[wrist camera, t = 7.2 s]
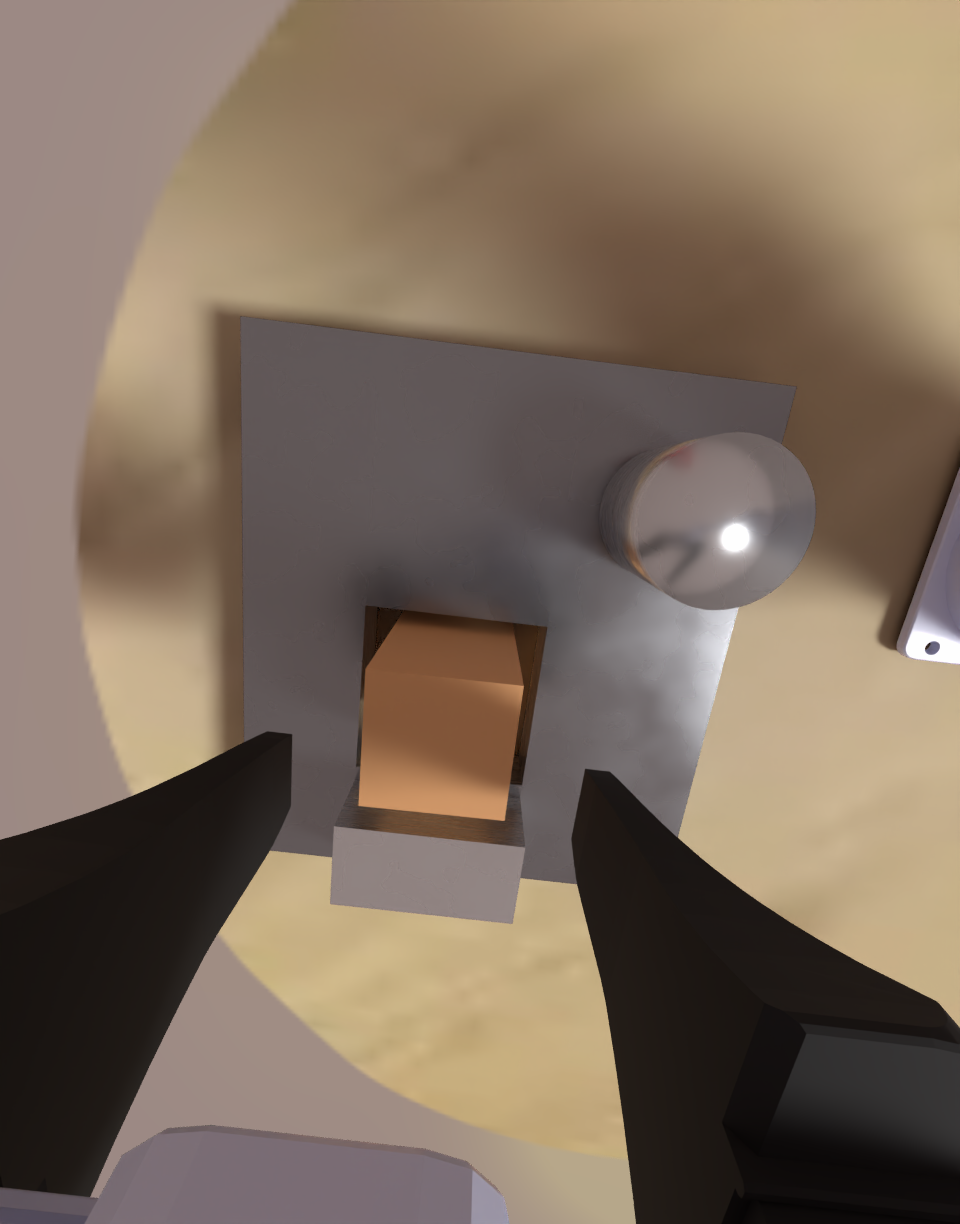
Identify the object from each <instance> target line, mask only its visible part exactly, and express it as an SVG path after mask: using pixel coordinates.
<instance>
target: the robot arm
mask: <svg viewBox="0 0 960 1224" xmlns="http://www.w3.org/2000/svg"><path fill="white" fill-rule="evenodd" d="M928 643H930V646H929V648H928V649H927V650H925V647H926V645H927V644H928ZM896 647H897V650H898V652H899V653H900V654H901V655H903V656H906V657H908V658H911V659H916V660H925V661H933V662H942V663H950V664H959V665H960V468H959V471H958V474H957V476H956V479H955V482H954V485H953V488H952V490H951V493H950V496H949V499H948V501H947V504H946V507H945V510H944V513H943V515H942V518H941V521H940V524H939V527H938V529H937V532H936V535H935V538H934V541H933V543H932V546H931V549H930V552H929V554H928V557H927V560H926V563H925V566H924V568H923V571H922V574H921V577H920V580H919V582H918V585H917V588H916V591H915V594H914V596H913V599H912V602H911V605H910V607H909V610H908V613H907V616H906V619H905V621H904V624H903V627H902V630H901V633H900V635H899V638H898V641H897V646H896ZM291 782H292V734H287V733H278V732H270V731H267V732H265V733H262V734H260V735H258V736H256V737H254V738H252V739H250V740H248V741H246V742H244V743H242V744H240V745H238V746H236V747H234V748H232V749H230V750H228V751H226V752H224V753H222V754H220V755H218V756H216V757H214V758H212V759H211V760H209V761H207V762H205V763H203V764H201V765H199V766H197V767H195V768H193V769H191V770H189V771H186V772H184V773H182V774H180V775H178V776H176V777H173V778H171V779H169V780H167V781H165V782H163V783H161V784H158V785H156V786H154V787H152V788H150V789H148V790H145V791H143V792H140V793H138V794H136V795H133V796H131V797H128V798H126V799H123V800H121V801H118V802H116V803H113V804H110V805H108V806H105V807H102V808H100V809H97V810H95V811H92V812H89V813H86V814H83V815H80V816H77V817H74V818H71V819H67V820H65V821H61V822H58V823H55V824H52V825H49V826H46V827H43V828H39V829H36V830H33V831H30V832H27V833H23V834H20V835H16V836H12V837H9V838H5V839H2V840H0V1224H509V1219H508V1214H507V1210H506V1204H505V1199H504V1197H503V1195H502V1194H501V1193H500V1191H499V1190H498V1189H497V1188H496V1186H495V1185H494V1184H492V1183H491V1182H490V1181H489V1180H488V1179H487V1178H485V1177H484V1176H483V1175H482V1174H481V1173H480V1172H479V1171H478V1170H476V1169H475V1168H474V1167H473V1166H472V1165H470V1163H468V1162H467V1161H464V1160H461V1159H457V1158H454V1157H451V1156H447V1155H444V1154H441V1153H437V1152H434V1151H431V1150H427V1149H423V1148H414V1147H405V1146H396V1145H387V1144H378V1143H369V1142H360V1141H351V1140H341V1139H332V1138H324V1137H314V1136H305V1135H296V1134H287V1133H279V1132H270V1131H260V1130H252V1129H243V1128H234V1127H224V1126H215V1125H205V1126H191V1127H178V1128H168V1129H166V1130H164V1131H162V1132H160V1133H158V1134H157V1135H155V1136H153V1137H151V1138H150V1139H148V1140H146V1141H145V1142H143V1143H141V1144H140V1145H138V1146H136V1147H135V1148H133V1149H132V1150H130V1151H128V1152H127V1153H125V1154H123V1155H122V1156H121V1158H120V1160H119V1162H118V1164H117V1165H116V1167H115V1169H114V1171H113V1173H112V1175H111V1176H110V1178H109V1180H108V1182H107V1184H106V1186H105V1187H104V1189H103V1191H102V1193H101V1195H100V1197H99V1198H92V1197H90V1196H91V1193H92V1191H93V1189H94V1187H95V1185H96V1182H97V1180H98V1178H99V1175H100V1173H101V1171H102V1169H103V1167H104V1164H105V1162H106V1160H107V1157H108V1155H109V1153H110V1151H111V1148H112V1146H113V1144H114V1142H115V1139H116V1137H117V1135H118V1133H119V1131H120V1129H121V1126H122V1124H123V1122H124V1120H125V1118H126V1116H127V1114H128V1111H129V1109H130V1107H131V1105H132V1103H133V1101H134V1098H135V1096H136V1094H137V1092H138V1090H139V1088H140V1085H141V1083H142V1081H143V1079H144V1077H145V1075H146V1072H147V1070H148V1068H149V1066H150V1064H151V1062H152V1060H153V1058H154V1056H155V1054H156V1052H157V1049H158V1047H159V1045H160V1044H161V1042H162V1039H163V1037H164V1035H165V1033H166V1031H167V1029H168V1027H169V1025H170V1023H171V1021H172V1019H173V1017H174V1015H175V1013H176V1011H177V1009H178V1007H179V1005H180V1003H181V1001H182V999H183V997H184V995H185V993H186V991H187V989H188V987H189V985H190V983H191V981H192V979H193V977H194V975H195V973H196V972H197V970H198V968H199V966H200V964H201V962H202V960H203V958H204V956H205V954H206V953H207V951H208V949H209V947H210V946H211V944H212V942H213V941H214V939H215V937H216V935H217V934H218V932H219V931H220V929H221V927H222V926H223V924H224V923H225V921H226V919H227V918H228V916H229V915H230V913H231V912H232V910H233V908H234V907H235V905H236V904H237V902H238V900H239V899H240V897H241V896H242V894H243V893H244V891H245V889H246V888H247V886H248V885H249V883H250V882H251V880H252V878H253V877H254V875H255V874H256V872H257V870H258V869H259V867H260V866H261V864H262V862H263V861H264V859H265V857H266V856H267V854H268V853H269V851H270V849H271V848H272V846H273V844H274V842H275V840H276V838H277V836H278V834H279V832H280V830H281V828H282V825H283V823H284V821H285V819H286V816H287V814H288V812H289V810H290V807H291ZM571 842H572V851H573V860H574V868H575V875H576V881H577V886H578V890H579V894H580V898H581V902H582V906H583V910H584V914H585V918H586V922H587V926H588V930H589V934H590V938H591V942H592V946H593V950H594V954H595V958H596V962H597V966H598V970H599V974H600V978H601V982H602V987H603V992H604V996H605V1001H606V1007H607V1013H608V1019H609V1026H610V1032H611V1038H612V1045H613V1051H614V1057H615V1064H616V1071H617V1078H618V1085H619V1092H620V1099H621V1106H622V1114H623V1121H624V1129H625V1137H626V1145H627V1152H628V1160H629V1167H630V1176H631V1184H632V1192H633V1200H634V1209H635V1218H636V1224H960V1028H959V1026H958V1025H957V1024H956V1023H955V1022H954V1020H953V1019H952V1018H951V1017H950V1016H949V1015H948V1013H947V1012H946V1011H945V1010H944V1009H943V1008H942V1006H941V1005H940V1004H939V1003H938V1002H937V1001H935V1000H933V999H931V998H929V997H927V996H925V995H923V994H921V993H919V992H917V991H915V990H913V989H911V988H909V987H907V986H905V985H903V984H901V983H899V982H897V981H895V980H893V979H891V978H889V977H887V976H885V975H883V974H881V973H879V972H877V971H875V970H873V969H871V968H869V967H867V966H865V965H863V964H861V963H859V962H857V961H855V960H854V959H852V958H850V957H848V956H847V955H845V954H843V953H841V952H840V951H838V950H836V949H834V948H832V947H831V946H829V945H827V944H825V943H824V942H822V941H820V940H818V939H817V938H815V937H813V936H812V935H810V934H808V933H807V932H805V931H803V930H802V929H800V928H798V927H797V926H795V925H794V924H792V923H790V922H789V921H787V920H786V919H784V918H783V917H781V916H780V915H778V914H777V913H775V912H774V911H772V910H771V909H769V908H768V907H766V906H764V905H763V904H761V903H760V902H758V901H757V900H756V899H754V898H753V897H751V896H750V895H748V894H747V893H746V892H744V891H743V890H741V889H740V888H739V887H737V886H736V885H735V884H733V883H732V882H731V881H730V880H728V879H727V878H726V877H724V876H723V875H722V874H720V873H719V872H718V871H716V870H715V869H714V868H713V867H711V866H710V865H709V864H708V863H706V862H705V861H704V860H703V859H701V858H700V857H699V856H698V855H697V854H696V853H695V852H693V851H692V850H691V849H690V848H689V847H688V846H687V845H685V844H684V843H683V842H682V841H681V840H680V839H679V838H677V837H676V836H675V835H674V834H673V833H672V832H671V831H670V830H669V829H668V828H667V827H666V826H665V825H664V824H662V823H661V822H660V821H659V820H658V819H657V818H656V817H655V816H654V815H653V814H652V813H651V812H650V811H649V810H648V809H647V808H646V807H645V806H644V805H643V804H642V803H641V802H640V801H639V800H638V799H637V798H636V797H635V796H634V795H633V794H632V793H631V792H630V791H629V790H628V789H627V788H626V787H625V786H624V785H623V784H622V783H621V782H620V781H619V780H618V779H617V778H616V777H615V776H614V775H613V774H612V773H611V772H610V771H601V770H593V769H585V772H584V777H583V782H582V787H581V792H580V797H579V802H578V807H577V812H576V817H575V822H574V827H573V832H572V837H571Z"/></svg>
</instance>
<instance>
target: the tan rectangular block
mask: <svg viewBox="0 0 960 1224" xmlns="http://www.w3.org/2000/svg"><path fill="white" fill-rule="evenodd" d="M523 689H524V684H523V678H522V673H521V667H520V662H519V656H518V651H517V645H516V640H515V634H514V629H513V623H510V622H502V621H494V620H485V619H477V618H468V617H460V616H451V615H443V614H434V613H426V612H417V611H409V610H404V611H403V613H402V614H401V616H400V617H399V619H398V620H397V622H396V623H395V625H394V627H393V628H392V630H391V631H390V633H389V634H388V636H387V637H386V639H385V640H384V642H383V643H382V645H381V646H380V648H379V649H378V651H377V652H376V654H375V655H374V657H373V658H372V660H371V661H370V663H369V664H368V666H367V667H366V669H365V688H364V708H363V727H362V746H361V766H360V785H359V805H358V806H365V807H375V808H385V809H394V810H404V811H414V812H423V813H433V814H442V815H452V816H462V817H471V818H481V819H491V820H500V821H505V814H506V807H507V800H508V793H509V786H510V779H511V772H512V765H513V758H514V751H515V744H516V737H517V730H518V723H519V716H520V710H521V703H522V696H523Z"/></svg>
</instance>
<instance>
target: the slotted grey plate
mask: <svg viewBox="0 0 960 1224" xmlns="http://www.w3.org/2000/svg"><path fill="white" fill-rule="evenodd" d="M240 318H241V434H242V550H243V666H244V742H246V741H248V740H250V739H252V738H254V737H256V736H258V735H260V734H262V733H265V732H267V731H270V732H278V733H287V734H292V782H291V807H290V810H289V812H288V814H287V816H286V819H285V821H284V823H283V825H282V828H281V830H280V832H279V834H278V836H277V838H276V840H275V842H274V844H273V846H272V848H271V849H270V850H271V851H280V852H289V853H298V854H307V855H316V856H325V857H332V877H331V898H330V904H334V905H344V906H353V907H362V908H371V909H380V910H390V911H399V912H408V913H417V914H426V915H436V916H445V917H454V918H463V919H472V920H482V921H491V922H500V923H509V924H513V918H514V912H515V906H516V900H517V894H518V888H519V882H520V878H525V879H534V880H544V881H553V882H562V883H571V884H577V881H576V875H575V868H574V860H573V851H572V842H571V837H572V832H573V827H574V822H575V817H576V812H577V807H578V802H579V797H580V792H581V787H582V782H583V777H584V772H585V769H593V770H601V771H610V772H611V773H612V774H613V775H614V776H615V777H616V778H617V779H618V780H619V781H620V782H621V783H622V784H623V785H624V786H625V787H626V788H627V789H628V790H629V791H630V792H631V793H632V794H633V795H634V796H635V797H636V798H637V799H638V800H639V801H640V802H641V803H642V804H643V805H644V806H645V807H646V808H647V809H648V810H649V811H650V812H651V813H652V814H653V815H654V816H655V817H656V818H657V819H658V820H659V821H660V822H661V823H662V824H664V825H665V826H666V827H667V828H668V829H669V830H670V831H671V832H672V833H673V834H674V835H675V836H676V837H677V838H678V834H679V831H680V827H681V823H682V819H683V815H684V812H685V808H686V804H687V800H688V797H689V793H690V789H691V785H692V781H693V778H694V774H695V770H696V766H697V762H698V759H699V755H700V751H701V747H702V744H703V740H704V736H705V732H706V728H707V725H708V721H709V717H710V713H711V709H712V706H713V702H714V698H715V694H716V691H717V687H718V683H719V679H720V675H721V672H722V668H723V664H724V660H725V657H726V653H727V649H728V645H729V641H730V638H731V634H732V630H733V626H734V622H735V619H736V615H737V611H738V607H741V606H744V605H747V604H750V603H752V602H754V601H757V600H759V599H761V598H762V597H764V596H766V595H767V594H769V593H771V592H772V591H773V590H775V589H776V588H777V587H779V586H780V585H781V584H782V583H783V582H784V581H785V580H786V579H787V578H788V577H789V576H790V575H791V574H792V572H793V571H794V570H795V569H796V567H797V566H798V564H799V563H800V561H801V560H802V558H803V556H804V554H805V552H806V550H807V548H808V546H809V543H810V541H811V538H812V535H813V530H814V526H815V518H816V500H815V495H814V489H813V486H812V483H811V480H810V478H809V476H808V474H807V472H806V470H805V468H804V467H803V465H802V464H801V462H800V461H799V459H798V458H797V457H796V456H795V455H794V454H793V453H792V452H791V451H790V450H788V449H787V448H786V447H784V446H783V445H782V441H783V437H784V433H785V429H786V426H787V422H788V418H789V414H790V411H791V407H792V403H793V399H794V395H795V392H796V388H797V387H796V386H788V385H780V384H772V383H764V382H756V381H748V380H741V379H733V378H725V377H717V376H709V375H701V374H693V373H685V372H677V371H669V370H661V369H654V368H646V367H638V366H630V365H622V364H614V363H606V362H598V361H590V360H582V359H575V358H567V357H559V356H551V355H543V354H535V353H527V352H519V351H511V350H503V349H495V348H488V347H480V346H472V345H464V344H456V343H448V342H440V341H432V340H424V339H416V338H408V337H401V336H393V335H385V334H377V333H369V332H361V331H353V330H345V329H337V328H329V327H322V326H314V325H306V324H298V323H290V322H282V321H274V320H266V319H258V318H250V317H242V316H240ZM378 607H383V608H392V609H400V610H409V611H417V612H426V613H434V614H443V615H451V616H460V617H468V618H477V619H485V620H494V621H502V622H510V623H519V624H527V625H536V626H539V628H538V634H537V641H536V647H535V654H534V660H533V667H532V673H531V679H530V686H529V692H528V699H527V705H526V711H525V718H524V724H523V731H522V737H521V744H520V750H519V755H514V758H513V765H512V772H511V779H510V786H509V793H508V800H507V807H506V814H505V821H500V820H491V819H481V818H471V817H462V816H452V815H442V814H433V813H423V812H414V811H404V810H394V809H385V808H375V807H365V806H358V805H359V785H360V766H361V746H362V727H363V708H364V688H365V669H366V667H367V666H368V664H369V663H370V661H371V660H372V658H373V657H374V655H375V643H376V628H377V612H378Z"/></svg>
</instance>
